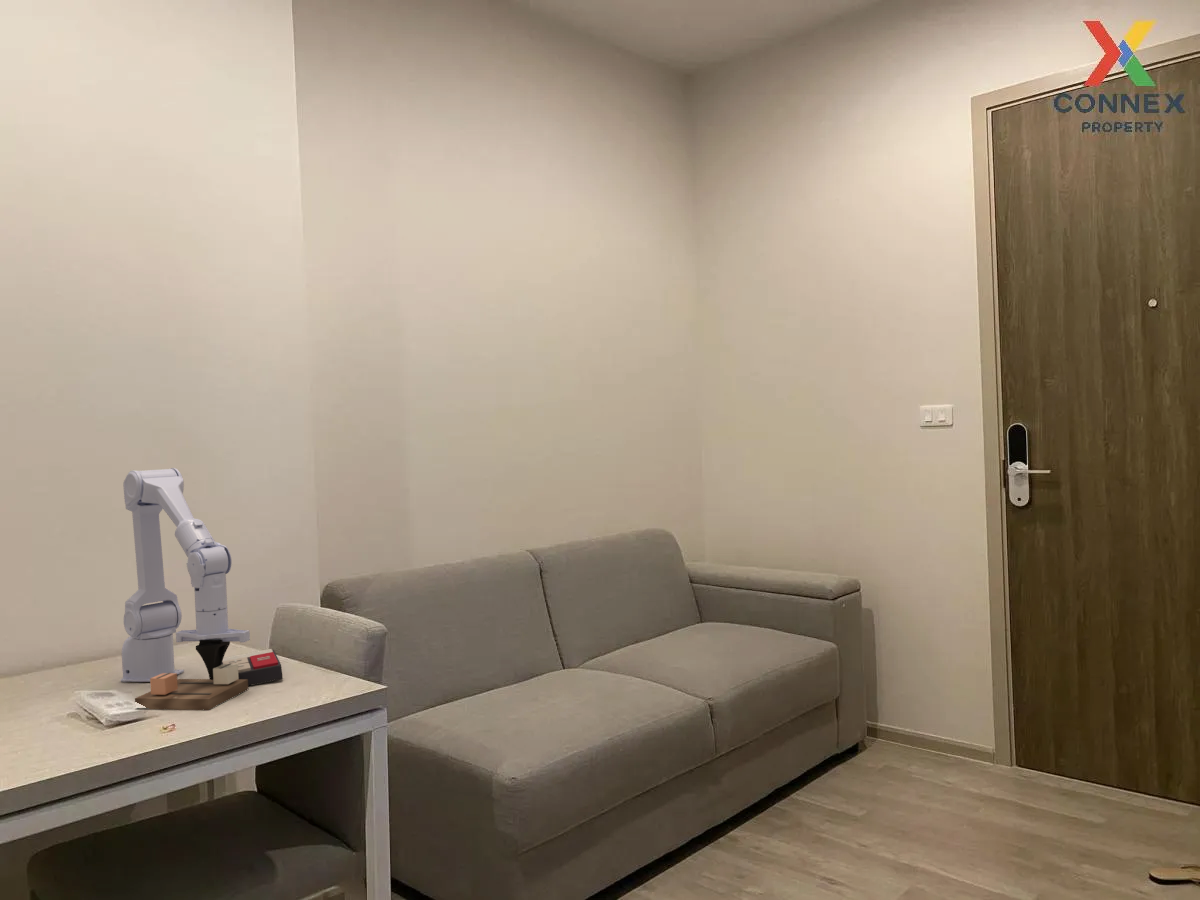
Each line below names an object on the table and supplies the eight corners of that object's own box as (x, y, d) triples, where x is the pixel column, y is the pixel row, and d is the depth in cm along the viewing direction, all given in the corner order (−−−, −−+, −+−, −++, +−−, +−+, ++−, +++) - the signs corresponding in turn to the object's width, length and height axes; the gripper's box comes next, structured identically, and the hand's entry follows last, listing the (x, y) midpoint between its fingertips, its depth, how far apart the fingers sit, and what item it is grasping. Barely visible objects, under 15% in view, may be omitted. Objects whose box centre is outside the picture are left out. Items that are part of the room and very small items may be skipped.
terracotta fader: (151, 694, 168) (150, 677, 168) (163, 688, 172) (162, 672, 172) (165, 694, 168) (164, 678, 167) (177, 689, 171) (176, 672, 171)
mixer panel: (135, 709, 167) (134, 697, 167) (179, 688, 180) (178, 678, 180) (208, 710, 165) (208, 698, 165) (248, 689, 178) (247, 678, 178)
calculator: (222, 672, 178) (218, 656, 191) (224, 693, 178) (221, 675, 191) (281, 661, 182) (273, 645, 196) (283, 682, 182) (275, 665, 196)
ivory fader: (213, 684, 174) (212, 668, 173) (224, 678, 177) (223, 663, 177) (227, 684, 173) (227, 668, 173) (238, 679, 177) (237, 663, 177)
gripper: (164, 613, 172) (167, 683, 173) (233, 613, 170) (237, 684, 170) (187, 605, 179) (190, 673, 180) (254, 605, 177) (257, 674, 177)
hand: (214, 678), depth 175 cm, fingers closed
